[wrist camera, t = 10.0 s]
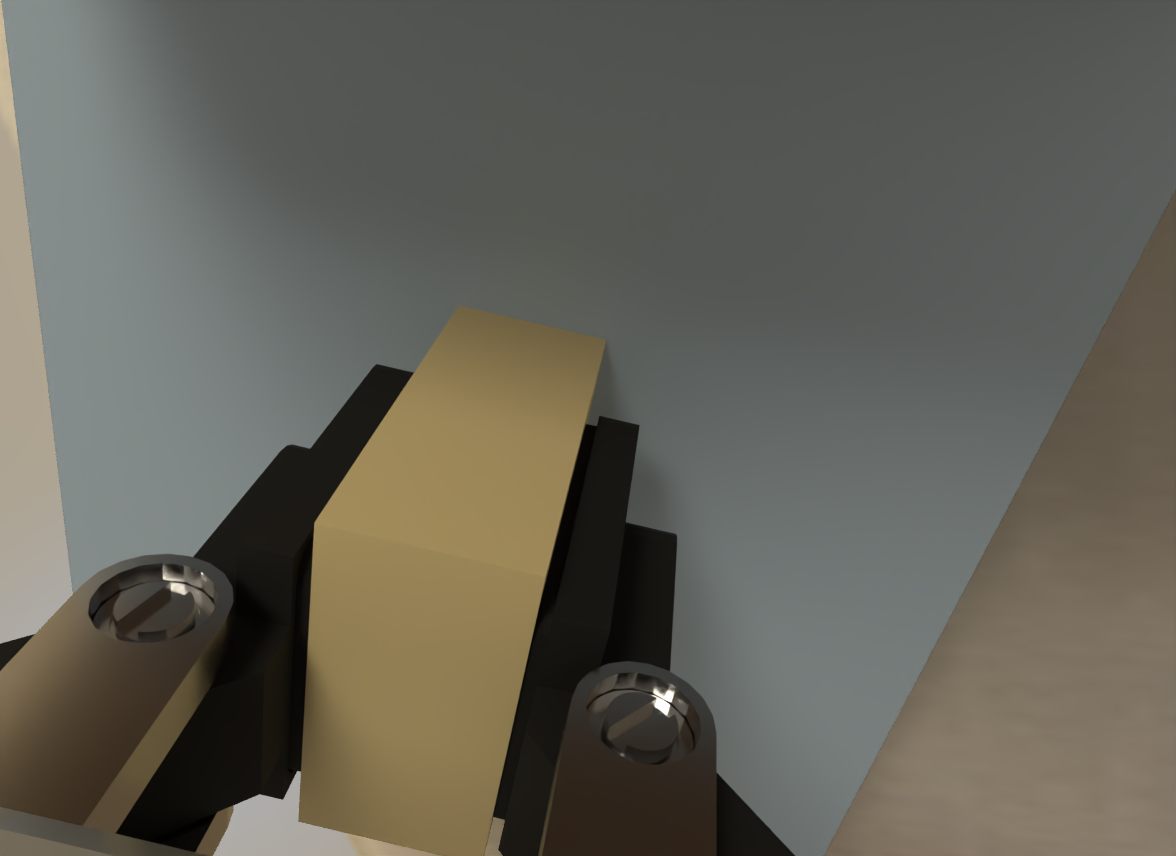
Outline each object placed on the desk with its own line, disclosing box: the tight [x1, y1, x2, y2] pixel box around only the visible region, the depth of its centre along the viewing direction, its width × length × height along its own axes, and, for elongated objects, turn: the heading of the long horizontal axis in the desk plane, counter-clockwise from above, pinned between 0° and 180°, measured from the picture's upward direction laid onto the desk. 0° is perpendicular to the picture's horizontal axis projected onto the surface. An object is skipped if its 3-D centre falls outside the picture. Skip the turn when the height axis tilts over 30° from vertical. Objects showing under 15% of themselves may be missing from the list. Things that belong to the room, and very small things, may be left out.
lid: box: [2, 0, 1176, 856], centre depth 11 cm, size 15×14×6 cm
